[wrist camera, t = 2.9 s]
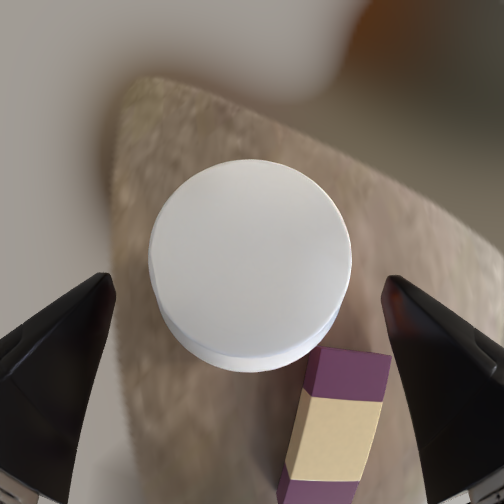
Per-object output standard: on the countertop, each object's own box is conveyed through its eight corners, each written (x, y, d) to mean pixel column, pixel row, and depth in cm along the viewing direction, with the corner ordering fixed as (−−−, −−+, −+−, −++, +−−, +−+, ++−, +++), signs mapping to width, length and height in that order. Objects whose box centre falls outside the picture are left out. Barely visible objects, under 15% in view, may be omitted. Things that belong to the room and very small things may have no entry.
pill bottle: (298, 356, 17) (375, 399, 6) (189, 346, 17) (102, 375, 6) (305, 249, 18) (376, 149, 7) (200, 240, 18) (143, 130, 7)
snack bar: (336, 495, 14) (347, 514, 12) (275, 493, 15) (279, 513, 12) (374, 352, 17) (392, 356, 14) (310, 344, 17) (320, 347, 14)
